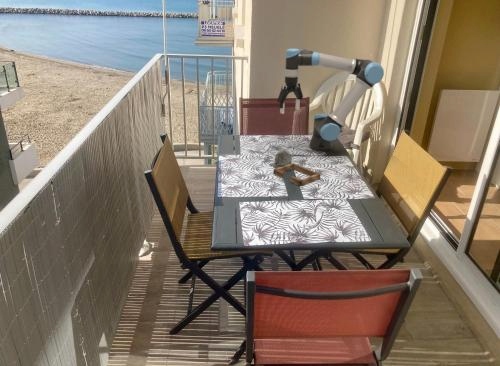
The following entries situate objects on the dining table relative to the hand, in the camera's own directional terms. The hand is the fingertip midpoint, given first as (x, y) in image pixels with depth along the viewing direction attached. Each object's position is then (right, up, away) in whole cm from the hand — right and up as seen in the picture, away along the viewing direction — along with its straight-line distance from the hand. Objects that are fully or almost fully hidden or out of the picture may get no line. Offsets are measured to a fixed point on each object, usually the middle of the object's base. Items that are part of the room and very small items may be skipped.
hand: (289, 111), depth 254 cm
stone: (-5, -33, -5) cm, 34 cm away
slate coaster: (-5, -33, -5) cm, 34 cm away
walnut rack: (+2, -40, -20) cm, 45 cm away
